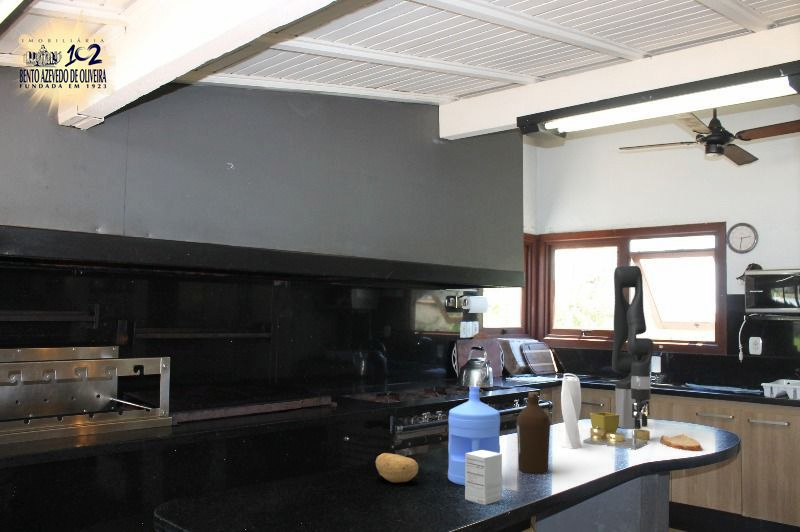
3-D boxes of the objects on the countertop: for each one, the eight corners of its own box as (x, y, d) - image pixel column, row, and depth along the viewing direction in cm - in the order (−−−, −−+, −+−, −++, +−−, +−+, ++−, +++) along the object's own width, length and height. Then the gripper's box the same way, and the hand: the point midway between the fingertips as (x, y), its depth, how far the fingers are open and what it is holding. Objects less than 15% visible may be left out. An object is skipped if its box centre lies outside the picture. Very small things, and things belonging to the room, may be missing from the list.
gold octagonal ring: (637, 437, 288) (637, 428, 288) (650, 439, 284) (650, 430, 285) (632, 439, 283) (632, 430, 283) (646, 441, 280) (646, 432, 280)
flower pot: (589, 434, 294) (589, 412, 295) (605, 433, 298) (605, 411, 298) (603, 438, 286) (603, 415, 287) (620, 436, 290) (620, 414, 290)
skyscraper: (573, 450, 261) (572, 374, 262) (556, 446, 266) (556, 372, 268) (585, 447, 266) (585, 373, 267) (568, 444, 271) (568, 371, 273)
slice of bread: (699, 453, 260) (699, 442, 260) (650, 446, 271) (650, 436, 271) (712, 446, 274) (712, 436, 274) (665, 440, 285) (665, 430, 285)
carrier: (598, 437, 287) (598, 423, 288) (647, 443, 275) (647, 429, 276) (583, 443, 274) (583, 428, 275) (634, 449, 263) (634, 434, 263)
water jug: (446, 474, 220) (447, 384, 222) (497, 475, 219) (497, 385, 221) (448, 486, 204) (449, 389, 206) (502, 487, 204) (503, 390, 205)
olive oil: (552, 468, 229) (552, 391, 231) (546, 475, 219) (547, 395, 221) (520, 465, 233) (520, 389, 235) (513, 472, 223) (513, 393, 225)
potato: (406, 489, 201) (407, 460, 201) (368, 481, 209) (368, 454, 210) (425, 482, 209) (426, 455, 209) (388, 475, 217) (388, 449, 218)
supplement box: (481, 495, 196) (482, 449, 196) (502, 500, 190) (502, 453, 191) (464, 499, 191) (464, 452, 191) (485, 505, 185) (485, 457, 186)
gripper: (637, 385, 293) (637, 425, 292) (625, 387, 282) (625, 428, 280) (655, 386, 288) (655, 426, 287) (644, 389, 277) (644, 430, 276)
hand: (641, 427), depth 284 cm, fingers open, 8 cm apart
